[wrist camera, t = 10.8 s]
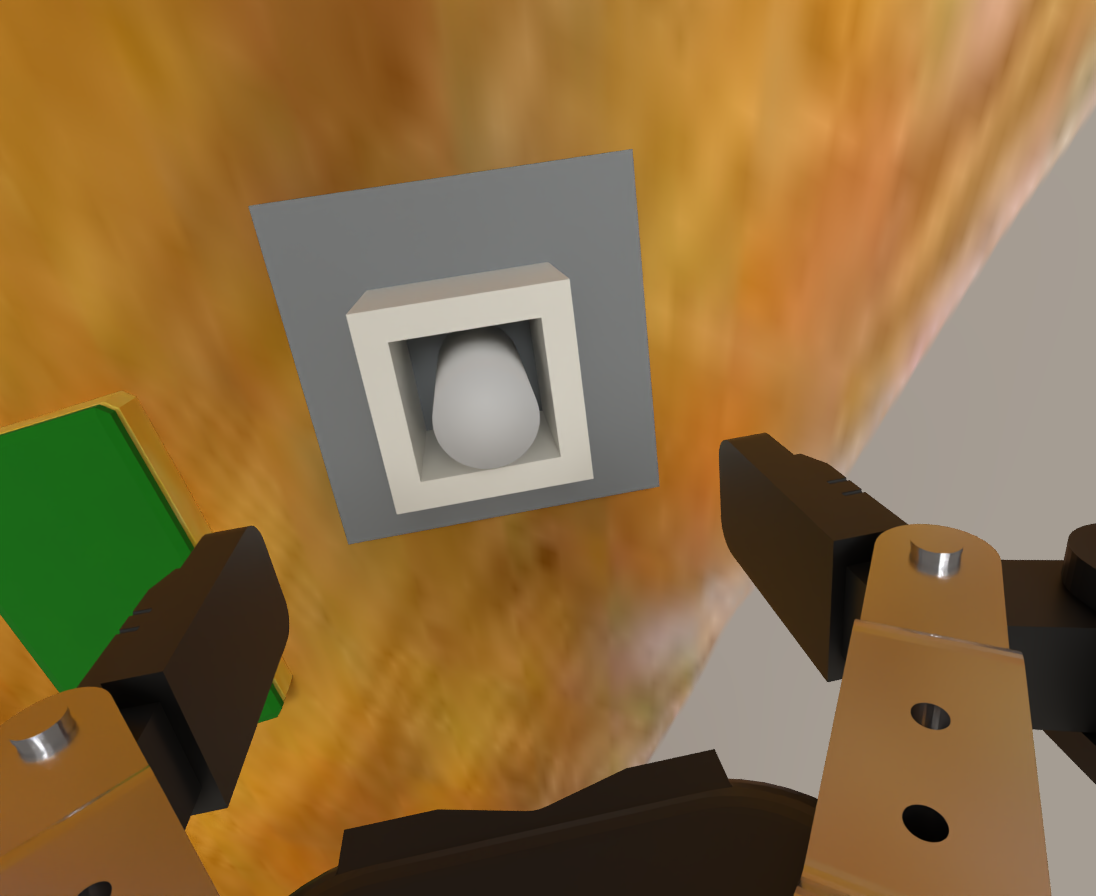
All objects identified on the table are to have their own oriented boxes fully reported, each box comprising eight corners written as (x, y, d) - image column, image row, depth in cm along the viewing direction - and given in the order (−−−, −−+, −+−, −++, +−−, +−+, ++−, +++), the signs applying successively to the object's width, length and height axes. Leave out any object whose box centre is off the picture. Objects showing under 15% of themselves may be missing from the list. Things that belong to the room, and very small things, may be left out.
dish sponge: (141, 724, 28) (114, 770, 26) (-58, 443, 23) (-113, 470, 21) (298, 675, 29) (284, 717, 26) (136, 384, 23) (102, 405, 21)
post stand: (261, 204, 21) (168, 212, 14) (621, 151, 22) (696, 134, 15) (354, 525, 26) (317, 648, 19) (648, 471, 27) (716, 569, 20)
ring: (366, 290, 21) (345, 314, 17) (547, 262, 22) (569, 278, 18) (406, 458, 24) (396, 514, 19) (570, 429, 24) (593, 478, 20)
